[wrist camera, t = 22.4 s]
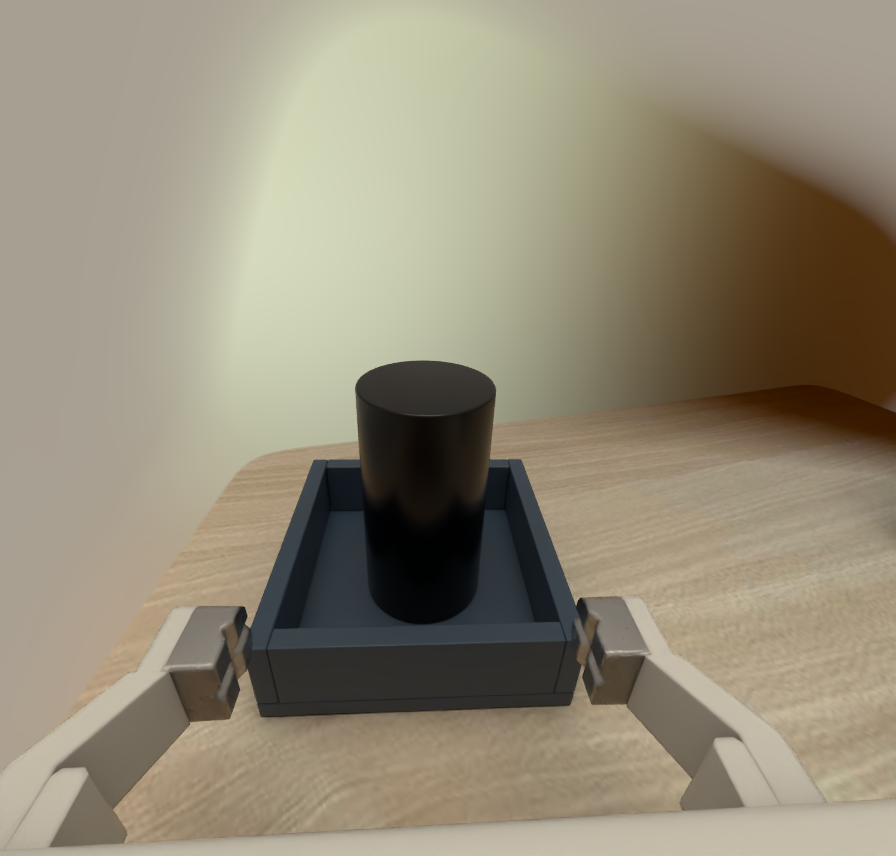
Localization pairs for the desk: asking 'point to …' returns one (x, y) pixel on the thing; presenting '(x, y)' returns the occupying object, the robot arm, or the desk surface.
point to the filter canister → (424, 484)
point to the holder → (406, 644)
